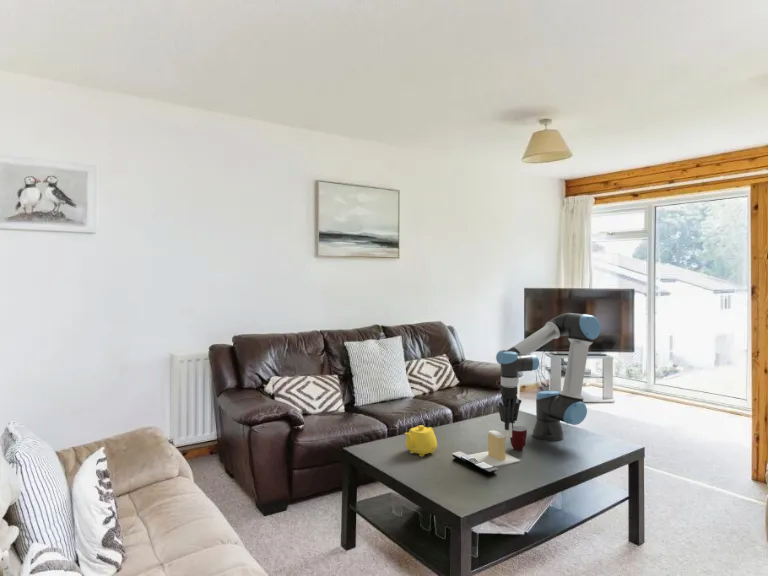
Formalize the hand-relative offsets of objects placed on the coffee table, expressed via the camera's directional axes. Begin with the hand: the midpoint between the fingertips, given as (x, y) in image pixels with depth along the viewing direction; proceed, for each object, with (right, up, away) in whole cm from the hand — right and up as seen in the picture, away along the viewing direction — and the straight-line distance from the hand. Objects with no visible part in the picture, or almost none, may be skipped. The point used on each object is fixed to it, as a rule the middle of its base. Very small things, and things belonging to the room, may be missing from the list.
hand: (508, 436), depth 230 cm
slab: (-6, -9, -3) cm, 11 cm away
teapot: (-41, -9, +4) cm, 42 cm away
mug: (+7, -9, +8) cm, 14 cm away
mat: (-9, -9, -4) cm, 14 cm away
